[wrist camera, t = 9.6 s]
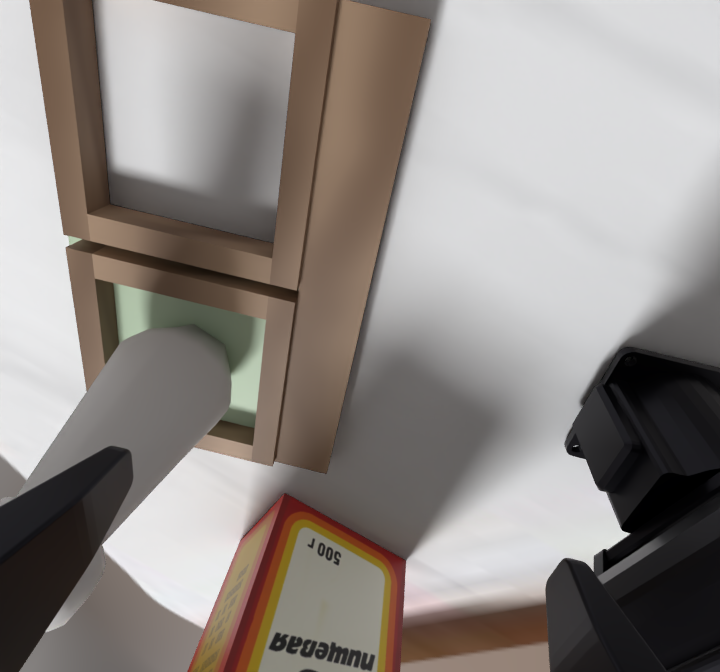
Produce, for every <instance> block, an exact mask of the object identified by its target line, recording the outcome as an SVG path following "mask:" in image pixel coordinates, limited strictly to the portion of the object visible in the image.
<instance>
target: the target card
mask: <svg viewBox="0 0 720 672" xmlns="http://www.w3.org/2000/svg"><path fill="white" fill-rule="evenodd" d="M68 237H69V244H70V245H72V244H74V243H76V242H78V241H80V240H82V239H80V238H76V237H72V236H68ZM113 286H114V297H115V307H116V318H117V328H118V339H119V344H120V342H122V341H123V340H125V339H127V338H129V337H131V336H133V335H136V334H138V333H140V332H143V331H145V330H147V329H151V328H167V327H180V326H185V325H191V324H195V325H196V326H198V327H199V328H201V329H202V330H204V331H205V332H207V333H208V334H210V335H211V336H213V337H214V338H216V339H217V340H219V341H220V342H222V343H223V344H225V347H226V352H227V357H228V362H229V367H230V372H231V380H232V388H231V403H230V406H229V408H228V410H227V412H226V413H225V414H224V415H223V416H222V418H221V419H220V420H223V421H227V422H231V423H235V424H240V425H244V426H248V427H252V428H255V421H256V411H257V402H258V392H259V382H260V373H261V363H262V353H263V343H264V334H265V324H266V320H265V319H260V318H256V317H252V316H248V315H244V314H240V313H236V312H232V311H227V310H223V309H219V308H215V307H211V306H207V305H203V304H198V303H194V302H190V301H186V300H182V299H178V298H174V297H170V296H165V295H161V294H157V293H153V292H149V291H145V290H141V289H136V288H132V287H128V286H124V285H120V284H116V283H113ZM298 290H299V288H298Z"/></svg>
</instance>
